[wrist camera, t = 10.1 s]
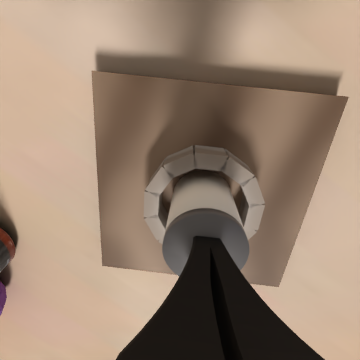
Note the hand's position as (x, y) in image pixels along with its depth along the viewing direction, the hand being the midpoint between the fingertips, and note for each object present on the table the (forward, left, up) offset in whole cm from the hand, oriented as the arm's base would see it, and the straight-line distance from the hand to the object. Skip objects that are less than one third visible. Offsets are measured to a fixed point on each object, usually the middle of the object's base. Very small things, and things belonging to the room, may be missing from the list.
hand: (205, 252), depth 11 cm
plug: (0, 0, -6) cm, 6 cm away
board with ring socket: (0, 0, -7) cm, 7 cm away
